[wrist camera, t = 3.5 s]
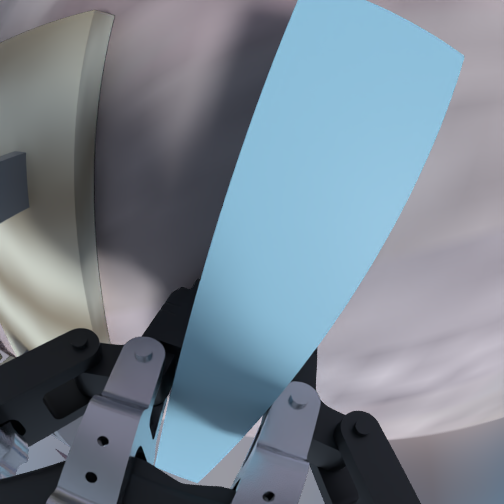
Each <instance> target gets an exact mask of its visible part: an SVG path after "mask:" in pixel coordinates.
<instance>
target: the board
mask: <svg viewBox="0 0 504 504" xmlns="http://www.w3.org/2000/svg"><path fill="white" fill-rule="evenodd" d="M113 20H114V15H111V14H107V13H104V12H101V11H97V10H92V11H88V12H84V13H80V14H76V15H73V16H69V17H66V18H62V19H59V20H56V21H53V22H50V23H47V24H44V25H42V26H39V27H36V28H34V29H31V30H28V31H26V32H24V33H21V34H19V35H16V36H14V37H12V38H10V39H7V40H5V41H3V42H1V43H0V156H2V155H5V154H8V153H11V152H14V151H17V152H26V169H27V186H28V198H29V208H27V209H25V210H23V211H22V212H20V213H18V214H16V215H14V216H12V217H11V218H9V219H7V220H5V221H4V222H2V223H0V323H1V325H2V328H3V330H4V332H5V334H6V336H7V339H8V341H9V343H10V345H11V347H12V349H13V351H14V353H15V355H16V356H17V357H18V356H20V355H22V354H23V353H24V352H25V351H26V350H28V351H30V350H32V349H34V348H36V347H38V346H40V345H42V344H44V343H46V342H48V341H50V340H52V339H54V338H56V337H58V336H60V335H62V334H64V333H66V332H68V331H70V330H73V329H76V328H86V329H89V330H91V331H93V332H94V333H95V334H96V335H97V336H98V338H99V341H100V343H107V344H110V340H109V335H108V330H107V325H106V319H105V313H104V307H103V301H102V294H101V287H100V279H99V270H98V261H97V250H96V237H95V219H94V152H95V134H96V122H97V111H98V102H99V94H100V86H101V80H102V73H103V67H104V62H105V56H106V51H107V46H108V41H109V37H110V33H111V28H112V24H113Z"/></svg>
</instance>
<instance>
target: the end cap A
mask: <svg viewBox="0 0 504 504" xmlns="http://www.w3.org/2000/svg"><path fill="white" fill-rule="evenodd" d="M27 208H29V198H28V186H27V169H26V152H17V151H14V152H11V153H8V154H5V155H2V156H0V223H2V222H4V221H5V220H7V219H9V218H11V217H12V216H14V215H16V214H18V213H20V212H22V211H23V210H25V209H27Z"/></svg>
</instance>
